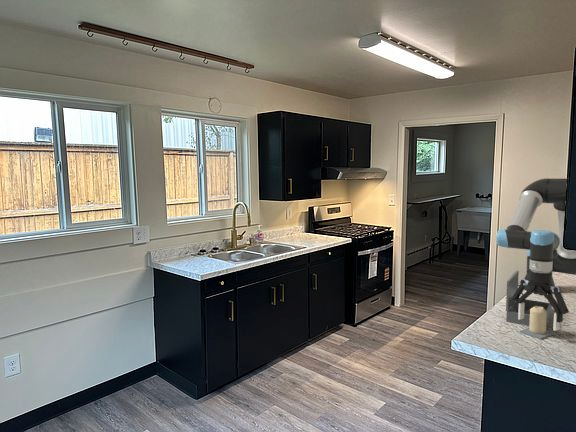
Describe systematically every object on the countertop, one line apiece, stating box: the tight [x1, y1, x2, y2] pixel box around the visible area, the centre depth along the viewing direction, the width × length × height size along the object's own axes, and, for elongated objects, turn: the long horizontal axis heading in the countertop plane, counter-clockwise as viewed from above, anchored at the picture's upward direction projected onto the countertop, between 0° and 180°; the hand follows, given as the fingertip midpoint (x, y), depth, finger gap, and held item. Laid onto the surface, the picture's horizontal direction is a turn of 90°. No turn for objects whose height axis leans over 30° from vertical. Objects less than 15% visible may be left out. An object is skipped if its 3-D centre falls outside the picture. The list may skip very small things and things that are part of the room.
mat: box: [519, 327, 556, 340], centre depth 157 cm, size 10×8×1 cm
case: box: [505, 270, 553, 327], centre depth 173 cm, size 23×14×18 cm, turn 141°
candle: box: [528, 306, 547, 334], centre depth 157 cm, size 6×6×10 cm
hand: (538, 324), depth 157 cm, fingers open, 13 cm apart
